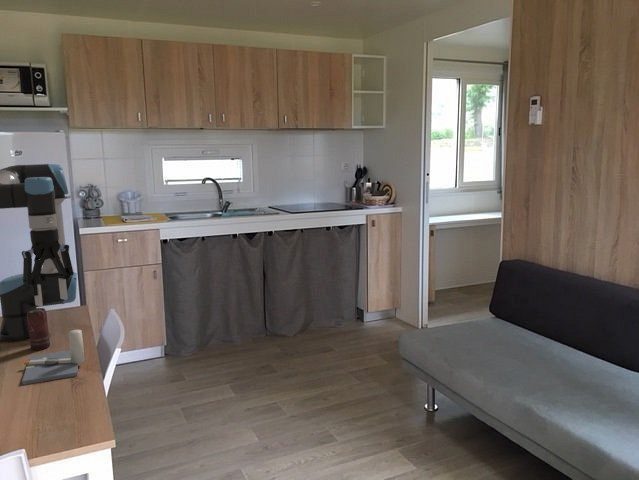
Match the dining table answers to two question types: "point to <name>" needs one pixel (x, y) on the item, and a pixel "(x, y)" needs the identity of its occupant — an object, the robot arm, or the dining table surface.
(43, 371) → the dial plate
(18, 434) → the dining table surface
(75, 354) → the needle
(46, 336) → the can
